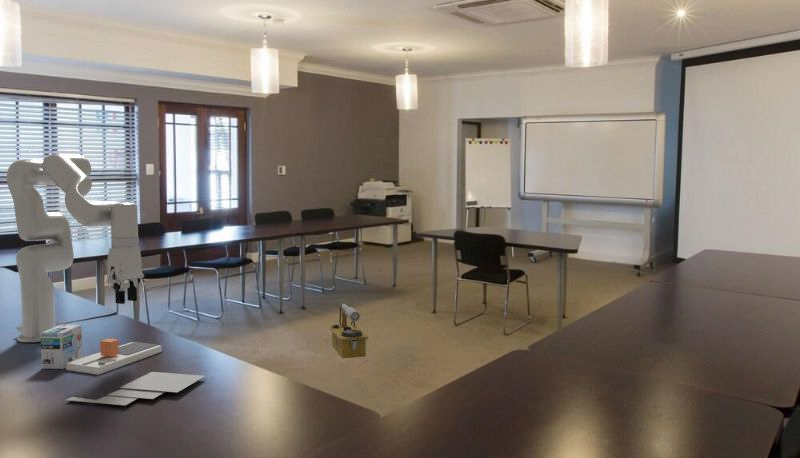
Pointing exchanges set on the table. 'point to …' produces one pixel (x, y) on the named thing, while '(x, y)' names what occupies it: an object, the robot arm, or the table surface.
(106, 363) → the panel
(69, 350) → the light bulb box
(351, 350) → the geiger counter
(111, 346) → the handle
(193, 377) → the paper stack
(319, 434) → the table surface
